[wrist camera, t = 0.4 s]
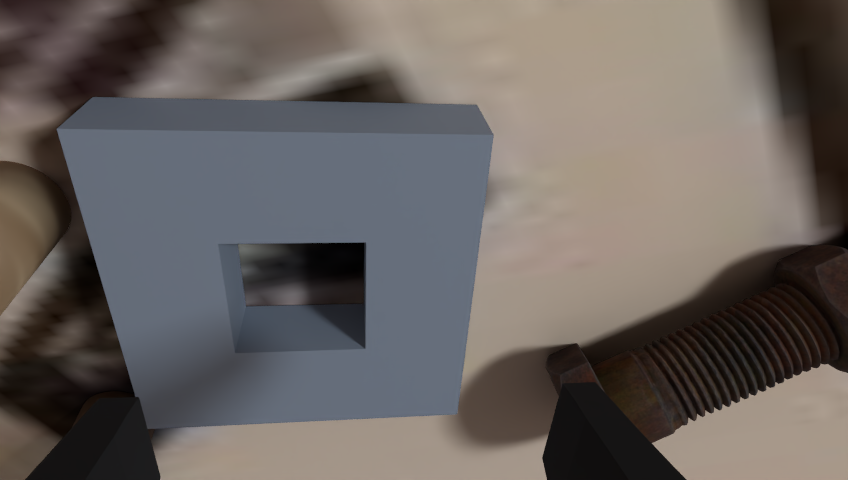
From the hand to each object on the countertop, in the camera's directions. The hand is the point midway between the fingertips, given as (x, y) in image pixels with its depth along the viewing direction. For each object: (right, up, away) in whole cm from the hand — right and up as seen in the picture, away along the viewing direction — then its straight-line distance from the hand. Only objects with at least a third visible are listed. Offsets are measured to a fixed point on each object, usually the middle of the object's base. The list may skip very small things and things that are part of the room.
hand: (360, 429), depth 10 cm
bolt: (+13, +1, +14) cm, 19 cm away
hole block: (-3, +3, +10) cm, 10 cm away
